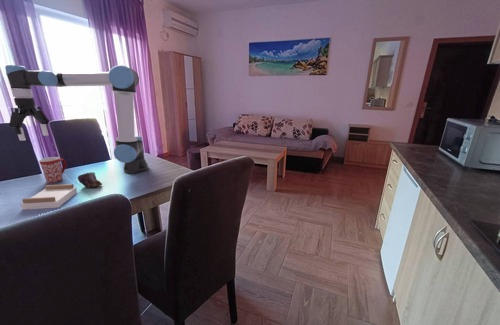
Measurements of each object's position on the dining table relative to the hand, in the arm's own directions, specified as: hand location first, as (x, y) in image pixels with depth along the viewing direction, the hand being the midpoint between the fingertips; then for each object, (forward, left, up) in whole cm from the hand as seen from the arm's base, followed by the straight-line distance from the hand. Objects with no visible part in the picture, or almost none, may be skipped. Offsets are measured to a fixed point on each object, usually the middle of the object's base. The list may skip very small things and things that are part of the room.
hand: (34, 137), depth 122 cm
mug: (-5, -2, -26) cm, 27 cm away
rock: (-28, +11, -26) cm, 40 cm away
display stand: (-18, +27, -26) cm, 41 cm away
